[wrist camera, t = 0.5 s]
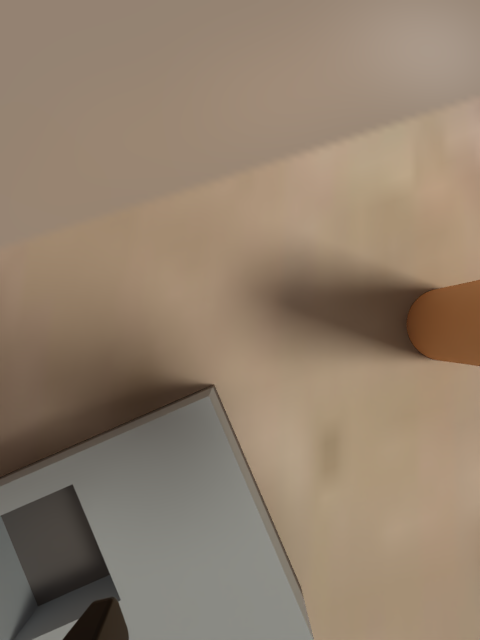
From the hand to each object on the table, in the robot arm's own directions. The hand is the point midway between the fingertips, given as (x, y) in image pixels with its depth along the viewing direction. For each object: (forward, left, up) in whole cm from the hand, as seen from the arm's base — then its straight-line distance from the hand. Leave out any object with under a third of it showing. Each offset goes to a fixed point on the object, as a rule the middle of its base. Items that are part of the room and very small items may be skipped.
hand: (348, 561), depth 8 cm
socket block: (-3, +10, -15) cm, 18 cm away
